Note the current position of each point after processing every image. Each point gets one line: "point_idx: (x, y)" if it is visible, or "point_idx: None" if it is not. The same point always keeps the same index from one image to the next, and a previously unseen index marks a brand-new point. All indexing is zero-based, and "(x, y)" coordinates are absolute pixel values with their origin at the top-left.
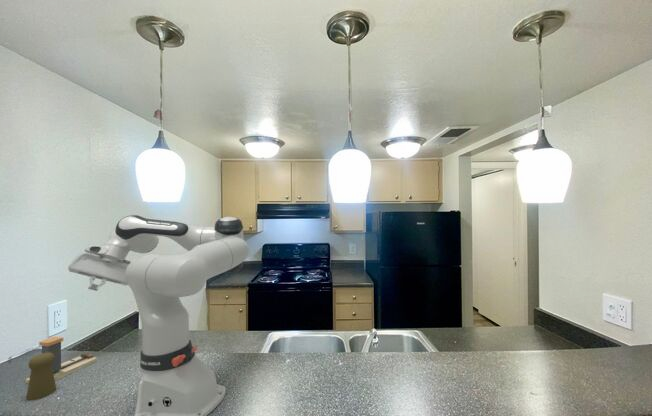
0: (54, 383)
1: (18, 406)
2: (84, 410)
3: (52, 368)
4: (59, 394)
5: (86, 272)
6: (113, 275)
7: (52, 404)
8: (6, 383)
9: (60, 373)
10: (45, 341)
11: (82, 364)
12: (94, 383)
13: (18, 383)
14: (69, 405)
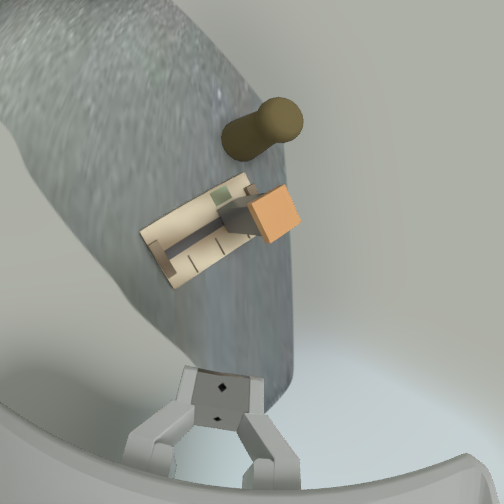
0: (230, 128)
1: None
2: (194, 23)
3: (248, 122)
4: (217, 106)
5: (369, 484)
6: (60, 486)
7: (228, 79)
8: (290, 257)
9: (217, 189)
10: (290, 210)
11: (173, 211)
12: (162, 94)
13: None
14: (208, 53)
